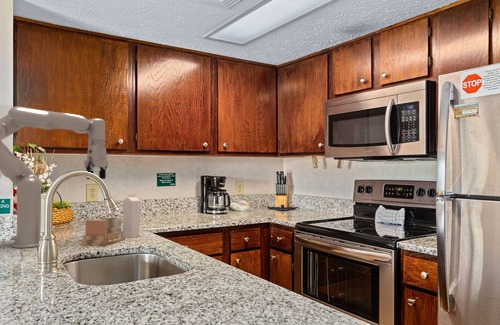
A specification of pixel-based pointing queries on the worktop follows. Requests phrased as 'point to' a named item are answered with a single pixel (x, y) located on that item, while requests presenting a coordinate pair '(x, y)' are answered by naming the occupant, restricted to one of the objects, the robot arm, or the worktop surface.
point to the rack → (112, 233)
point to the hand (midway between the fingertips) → (96, 178)
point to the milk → (131, 216)
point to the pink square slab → (97, 228)
